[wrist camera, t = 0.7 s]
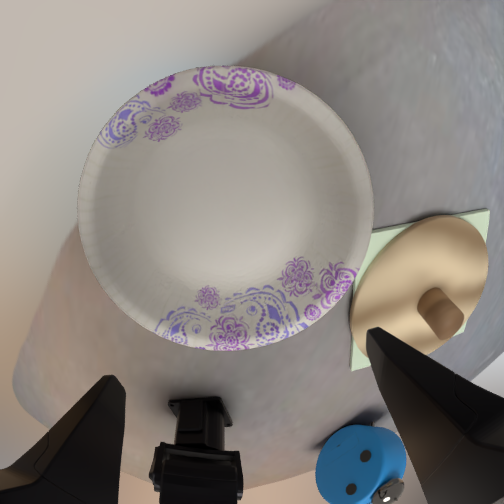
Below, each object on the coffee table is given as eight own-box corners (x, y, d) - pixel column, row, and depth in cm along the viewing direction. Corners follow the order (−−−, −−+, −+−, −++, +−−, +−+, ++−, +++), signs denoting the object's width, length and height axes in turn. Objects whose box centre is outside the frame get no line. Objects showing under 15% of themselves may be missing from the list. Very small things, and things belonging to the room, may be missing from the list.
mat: (461, 329, 28) (463, 331, 28) (349, 367, 29) (351, 371, 28) (486, 208, 22) (490, 210, 21) (352, 233, 22) (354, 236, 22)
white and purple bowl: (249, 45, 16) (257, 2, 9) (364, 213, 21) (417, 259, 14) (88, 180, 19) (27, 213, 12) (212, 314, 25) (206, 385, 18)
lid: (464, 333, 28) (484, 357, 24) (346, 374, 29) (359, 409, 24) (492, 205, 21) (525, 222, 16) (348, 231, 21) (375, 261, 17)
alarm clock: (334, 451, 39) (351, 523, 26) (307, 448, 38) (322, 527, 24) (390, 410, 35) (422, 490, 21) (366, 406, 33) (398, 497, 20)
